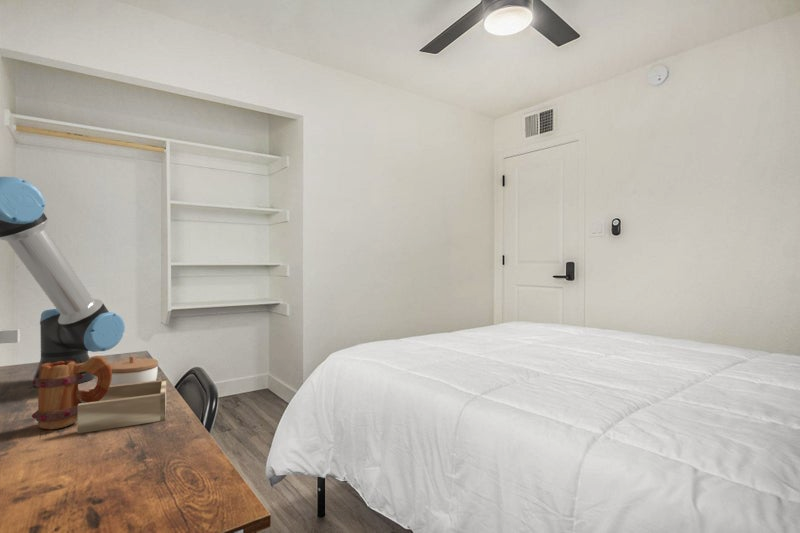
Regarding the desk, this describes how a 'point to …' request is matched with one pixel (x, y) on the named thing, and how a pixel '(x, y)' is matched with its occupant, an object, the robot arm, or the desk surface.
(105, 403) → the wooden u-shaped frame
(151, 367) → the lidded bowl
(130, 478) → the desk surface
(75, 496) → the desk surface
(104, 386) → the mug
